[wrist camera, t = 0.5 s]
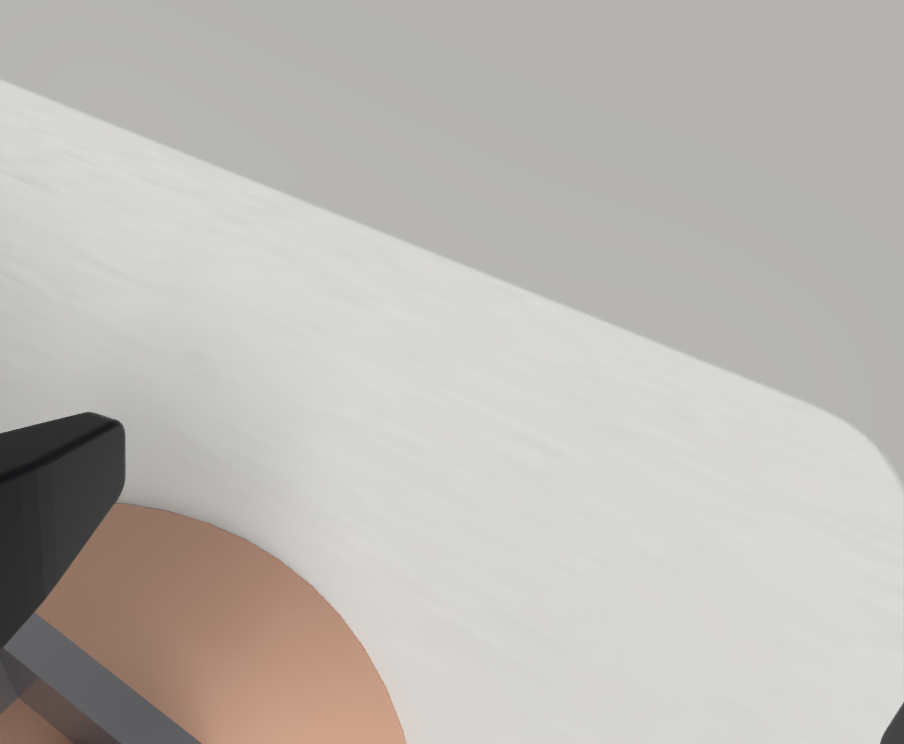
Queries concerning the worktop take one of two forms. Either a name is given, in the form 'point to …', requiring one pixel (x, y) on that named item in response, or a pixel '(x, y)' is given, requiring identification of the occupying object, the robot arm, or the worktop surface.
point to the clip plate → (187, 648)
